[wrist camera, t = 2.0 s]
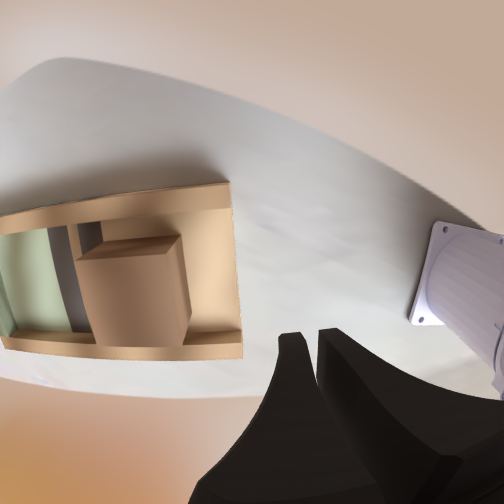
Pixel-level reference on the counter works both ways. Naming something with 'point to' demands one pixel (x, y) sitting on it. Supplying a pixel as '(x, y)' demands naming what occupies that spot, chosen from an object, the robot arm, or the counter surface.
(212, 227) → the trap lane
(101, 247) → the walnut block
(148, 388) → the counter surface
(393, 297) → the counter surface
